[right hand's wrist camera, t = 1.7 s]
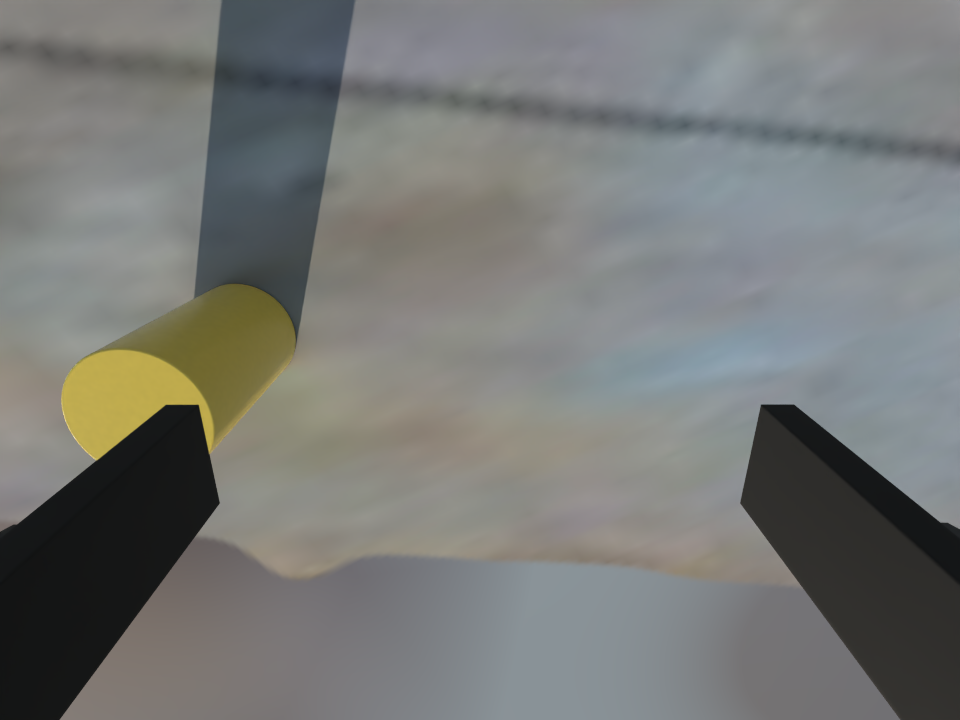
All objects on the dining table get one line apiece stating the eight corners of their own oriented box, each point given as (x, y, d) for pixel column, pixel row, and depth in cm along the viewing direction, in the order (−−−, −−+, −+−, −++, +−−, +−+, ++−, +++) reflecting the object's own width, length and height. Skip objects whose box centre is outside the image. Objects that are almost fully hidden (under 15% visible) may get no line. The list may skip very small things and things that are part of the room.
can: (177, 352, 33) (45, 443, 23) (210, 264, 31) (81, 321, 21) (274, 397, 34) (187, 502, 24) (312, 315, 32) (234, 392, 22)
